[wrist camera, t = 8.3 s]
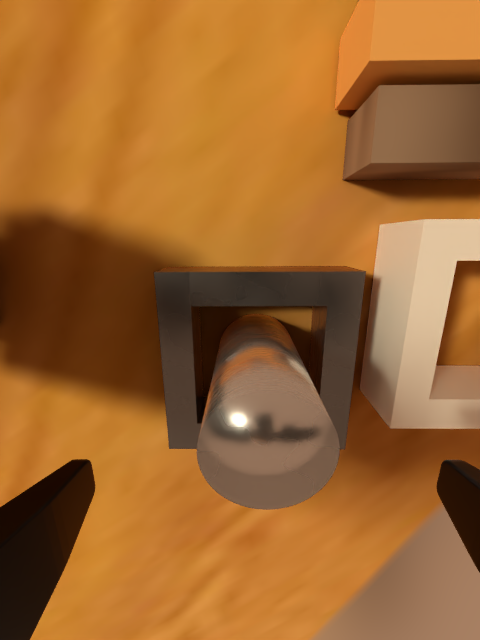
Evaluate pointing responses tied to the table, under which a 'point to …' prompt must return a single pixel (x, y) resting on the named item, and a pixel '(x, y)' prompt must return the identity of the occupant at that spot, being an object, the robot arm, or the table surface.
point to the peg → (264, 420)
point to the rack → (418, 327)
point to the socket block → (256, 290)
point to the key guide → (415, 134)
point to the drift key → (407, 47)
